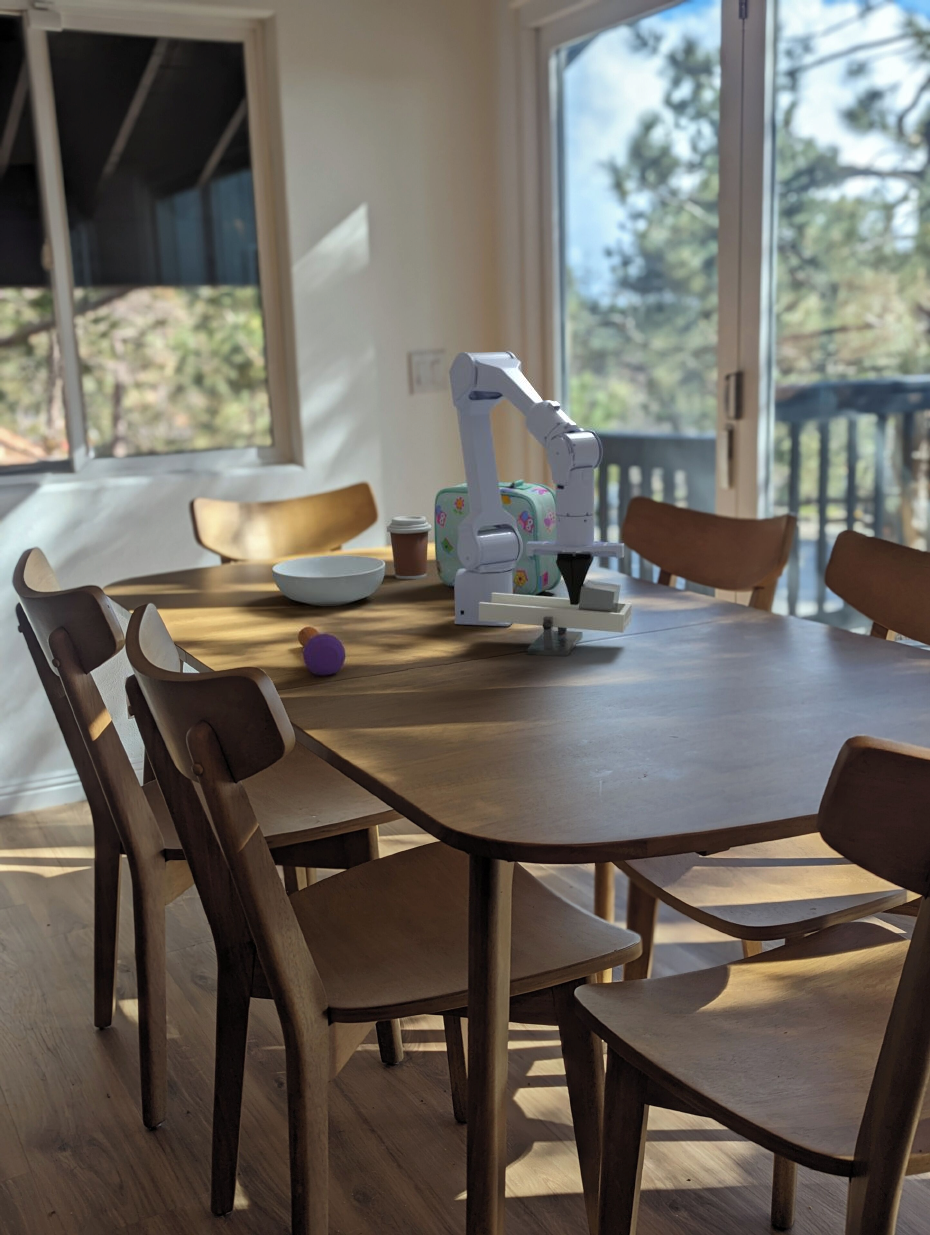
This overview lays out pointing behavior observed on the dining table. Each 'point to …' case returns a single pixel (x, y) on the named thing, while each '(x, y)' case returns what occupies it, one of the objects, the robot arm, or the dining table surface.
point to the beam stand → (554, 640)
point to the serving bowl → (329, 578)
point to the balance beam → (552, 613)
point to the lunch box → (519, 500)
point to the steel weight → (599, 597)
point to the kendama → (321, 651)
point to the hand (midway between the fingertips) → (575, 603)
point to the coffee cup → (409, 546)
